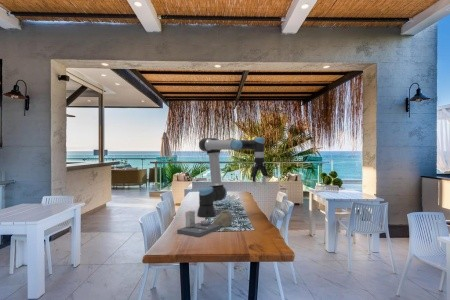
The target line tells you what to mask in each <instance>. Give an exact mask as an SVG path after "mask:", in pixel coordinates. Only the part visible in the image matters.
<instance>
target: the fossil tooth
mask: <svg viewBox="0 0 450 300" xmlns="http://www.w3.org/2000/svg"><path fill="white" fill-rule="evenodd" d="M233 218H234V216H233V215H232V214H230V211H228V210H221V211H220V213H219V214H218V215H217V216H216V218H215V219H214V220H213V222H212V224H213V225H220V227H224V228H228V227H229V226H230V225H231V224H232V221H233Z"/></svg>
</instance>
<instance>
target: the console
mask: <svg viewBox="0 0 450 300" xmlns="http://www.w3.org/2000/svg"><path fill="white" fill-rule="evenodd" d="M220 230H221V226H220V225H213V223H212V224H211V223H210V221H209V220H201V221H200V222H195V226H193V227H190V228H189V227H186V226H185V227H182V228H178V229H177V230H176V233H177V234H178V235H183V236H190V237H196V238H201V237H203V236H206V235H208V234H212V233H214V232H217V231H220Z"/></svg>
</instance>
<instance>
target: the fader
mask: <svg viewBox="0 0 450 300" xmlns="http://www.w3.org/2000/svg"><path fill="white" fill-rule="evenodd" d="M195 224H196V212H195V210H187V211H185V227H189V228H190V227H193V226H195Z"/></svg>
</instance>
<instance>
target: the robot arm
mask: <svg viewBox="0 0 450 300" xmlns="http://www.w3.org/2000/svg"><path fill="white" fill-rule="evenodd" d="M198 148H199V150H201V151H202V152H206V154H207V156H208V160H209V161H208V162H209V169H210V170H209V171H210V180H211V181H210V182H211V184H210V185H209V186H208V185H207V186H203V187H201V188H199V190H198V191H199V192H198V198H199V199H198V201H199V202H198V203H199V206H198V210H197V215H196V216H197V217H199V218H213V217H217V216H216V215H217V214H216V210H215V206H214V202H219V201H222V200H224V199H226V197H227V195H228V193H227V192H228V191H227V189H226V187H225V186H224V183H222V175H221V163H220V155H221V151H222V150H226V151H227V150H230V151H231V150H232V151H233V150H235V151H242V150H245V151H248V150H249V151H250V150H251V151H252V150H253V151H254V154H253V155H254V156H253V157H254V163H253V164H252V170H251V173H250V177H251V178H252V186H253V187H256V186H257V175H258V172H259V171H260V172H261V174H262V177H261V178H262V181H261V182H262V185H266V184H267V176H268V171H267V166H266V163H265V138H264V137H263V136H262V137H261V136H260V137H259V136H257V137H254V139H220V138H216V137H204V138H203V137H202V139H200V140H199V142H198Z"/></svg>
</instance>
